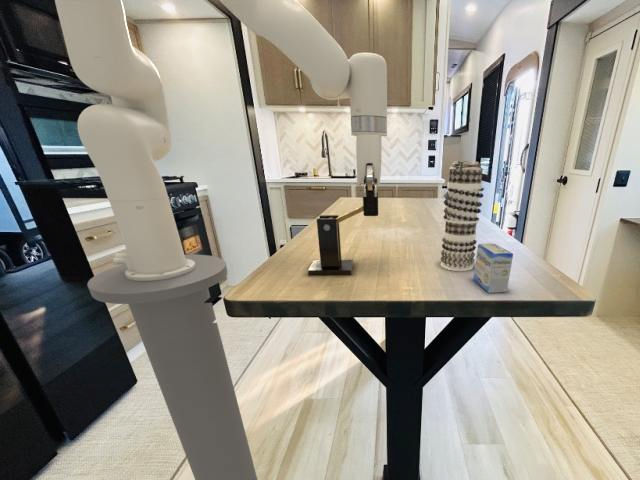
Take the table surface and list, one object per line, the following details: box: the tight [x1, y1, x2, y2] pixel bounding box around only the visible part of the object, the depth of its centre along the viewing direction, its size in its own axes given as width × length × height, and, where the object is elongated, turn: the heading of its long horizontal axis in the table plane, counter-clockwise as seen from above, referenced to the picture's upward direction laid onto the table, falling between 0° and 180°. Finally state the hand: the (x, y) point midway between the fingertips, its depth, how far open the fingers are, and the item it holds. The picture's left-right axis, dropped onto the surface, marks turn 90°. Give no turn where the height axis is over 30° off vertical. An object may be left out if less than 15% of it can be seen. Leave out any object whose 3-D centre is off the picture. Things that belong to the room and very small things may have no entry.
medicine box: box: [472, 242, 514, 294], centre depth 69 cm, size 8×4×9 cm, turn 12°
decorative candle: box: [440, 160, 485, 272], centre depth 78 cm, size 9×9×25 cm
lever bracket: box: [307, 214, 354, 276], centre depth 77 cm, size 10×8×13 cm
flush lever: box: [330, 205, 363, 224], centre depth 74 cm, size 13×5×2 cm, turn 96°
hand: (371, 212), depth 74 cm, fingers open, 9 cm apart
